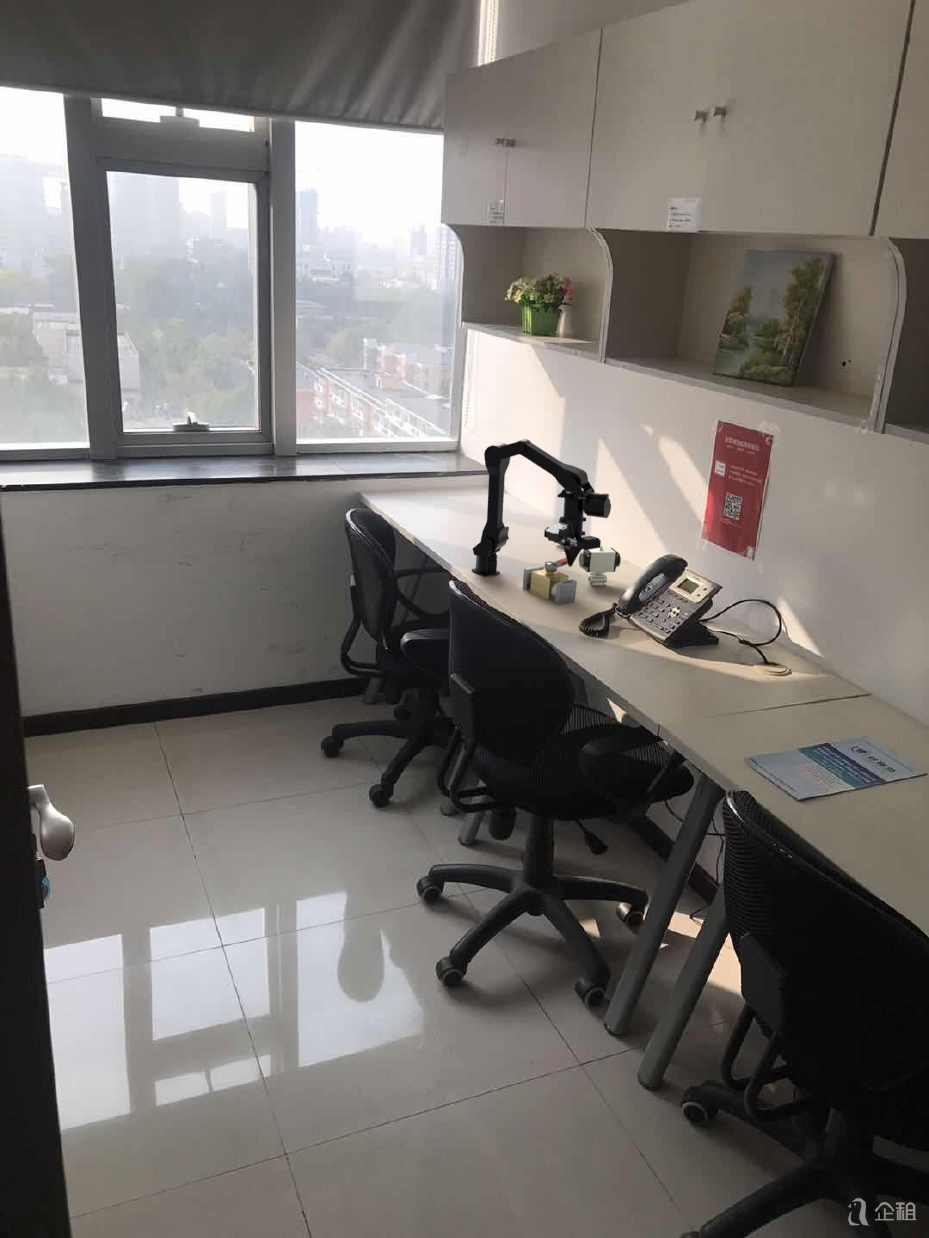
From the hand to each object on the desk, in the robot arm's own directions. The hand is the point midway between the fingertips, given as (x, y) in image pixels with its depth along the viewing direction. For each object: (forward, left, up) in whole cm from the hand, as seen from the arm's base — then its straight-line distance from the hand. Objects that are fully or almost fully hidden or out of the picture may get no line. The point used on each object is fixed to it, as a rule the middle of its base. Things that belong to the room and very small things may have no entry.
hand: (570, 566), depth 286 cm
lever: (-1, -4, 0) cm, 4 cm away
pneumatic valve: (-1, +12, -8) cm, 15 cm away
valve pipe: (0, -8, -8) cm, 11 cm away
